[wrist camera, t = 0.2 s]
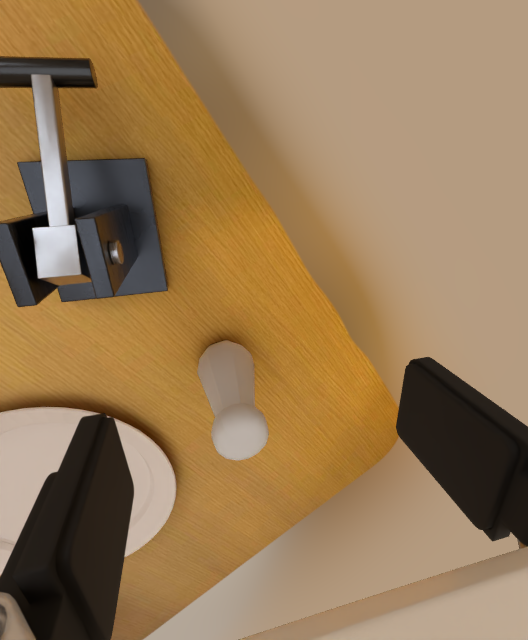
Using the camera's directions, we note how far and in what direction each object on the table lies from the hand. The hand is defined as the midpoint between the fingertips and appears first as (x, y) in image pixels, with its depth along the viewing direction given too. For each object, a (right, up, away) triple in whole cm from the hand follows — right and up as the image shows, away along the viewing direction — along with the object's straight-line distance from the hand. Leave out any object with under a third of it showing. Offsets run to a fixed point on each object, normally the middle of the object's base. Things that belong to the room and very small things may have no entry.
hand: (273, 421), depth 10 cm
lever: (-13, +12, +10) cm, 20 cm away
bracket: (-14, +11, +17) cm, 25 cm away
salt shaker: (-5, -1, +25) cm, 25 cm away
